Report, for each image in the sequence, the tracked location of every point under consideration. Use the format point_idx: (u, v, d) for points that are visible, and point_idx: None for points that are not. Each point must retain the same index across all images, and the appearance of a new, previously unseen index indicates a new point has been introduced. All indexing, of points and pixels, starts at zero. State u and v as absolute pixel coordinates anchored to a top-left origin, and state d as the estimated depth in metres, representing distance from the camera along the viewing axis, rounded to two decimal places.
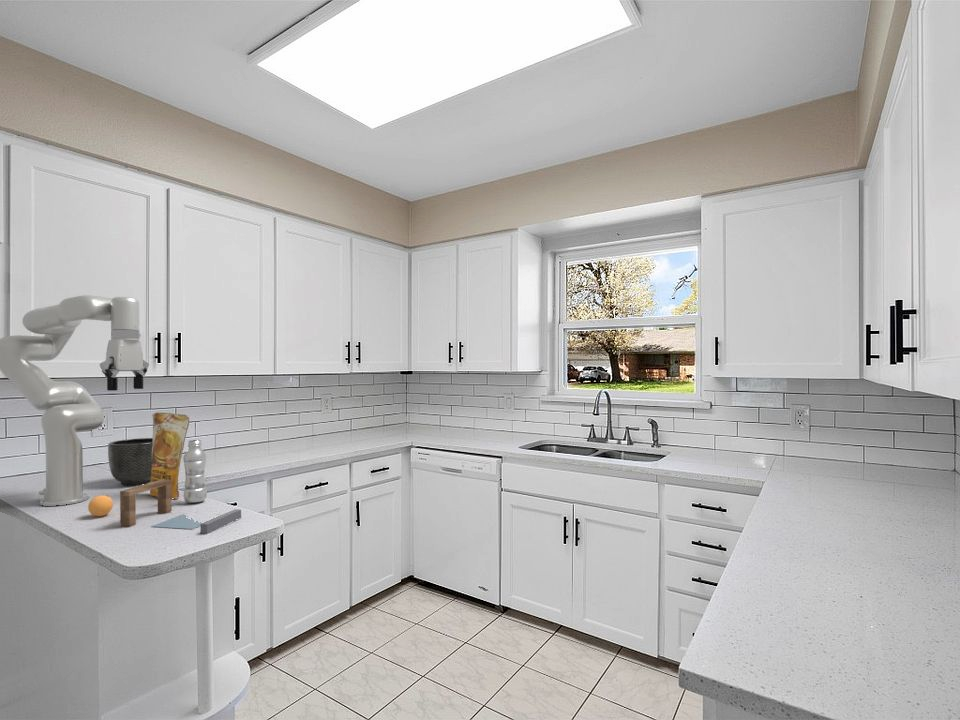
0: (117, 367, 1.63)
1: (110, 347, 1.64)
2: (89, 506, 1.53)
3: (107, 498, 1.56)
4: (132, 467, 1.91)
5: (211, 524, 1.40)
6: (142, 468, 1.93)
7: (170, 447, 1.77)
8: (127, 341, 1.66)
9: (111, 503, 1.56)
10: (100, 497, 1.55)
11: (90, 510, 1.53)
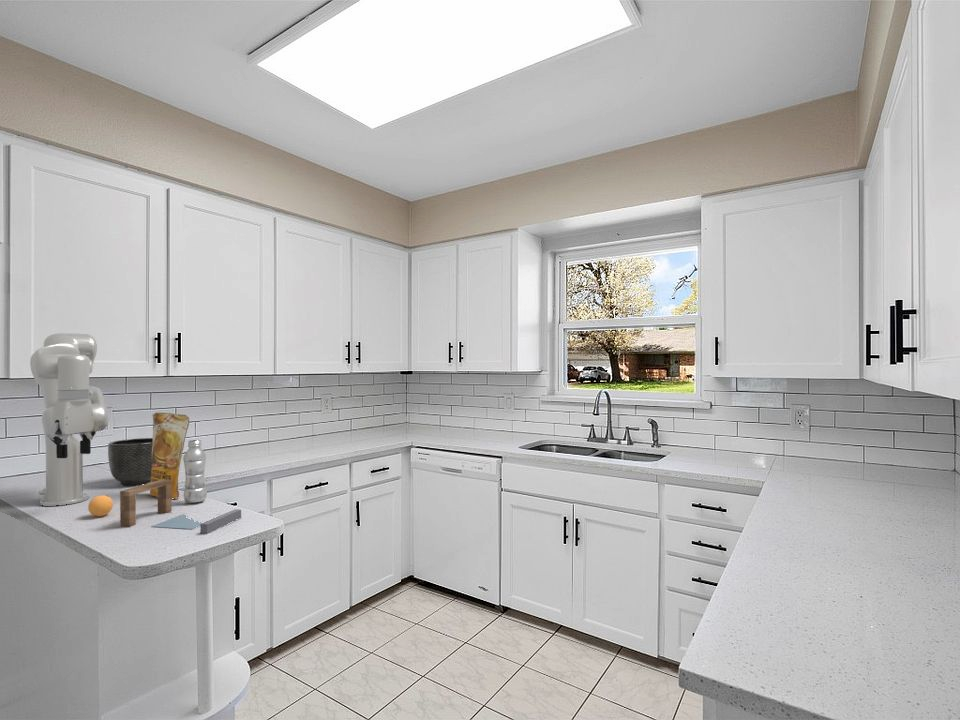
0: (63, 431, 1.53)
1: (56, 410, 1.53)
2: (89, 506, 1.53)
3: (107, 498, 1.56)
4: (132, 467, 1.91)
5: (211, 524, 1.40)
6: (142, 468, 1.93)
7: (170, 447, 1.77)
8: (75, 402, 1.56)
9: (111, 503, 1.56)
10: (100, 497, 1.55)
11: (90, 510, 1.53)
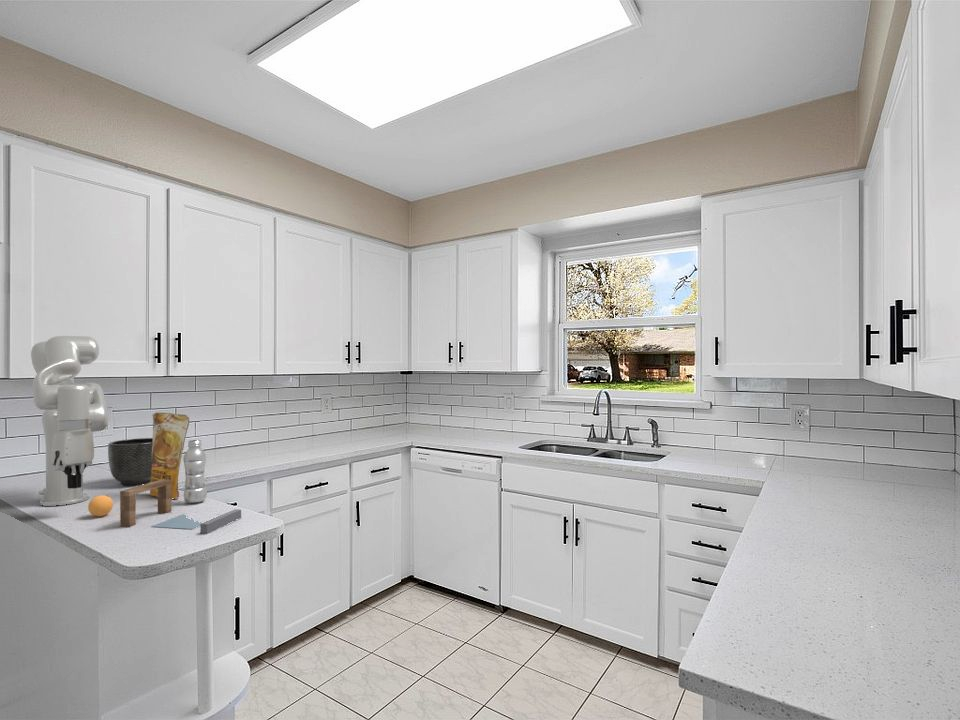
0: (63, 462, 1.52)
1: (56, 440, 1.53)
2: (89, 506, 1.53)
3: (107, 498, 1.56)
4: (132, 467, 1.91)
5: (211, 524, 1.40)
6: (142, 468, 1.93)
7: (170, 447, 1.77)
8: (75, 432, 1.55)
9: (111, 503, 1.56)
10: (100, 497, 1.55)
11: (90, 510, 1.53)
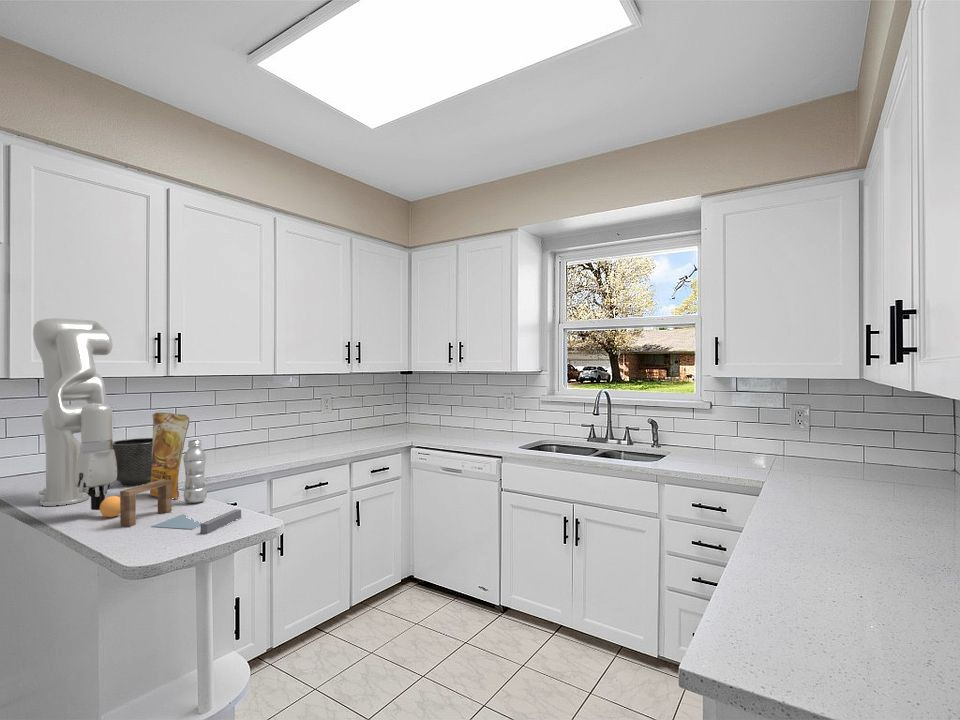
0: (87, 484, 1.51)
1: (79, 462, 1.51)
2: (103, 505, 1.52)
3: None
4: (132, 467, 1.91)
5: (211, 524, 1.40)
6: (142, 468, 1.93)
7: (170, 447, 1.77)
8: (98, 454, 1.54)
9: None
10: (117, 506, 1.54)
11: (101, 508, 1.52)
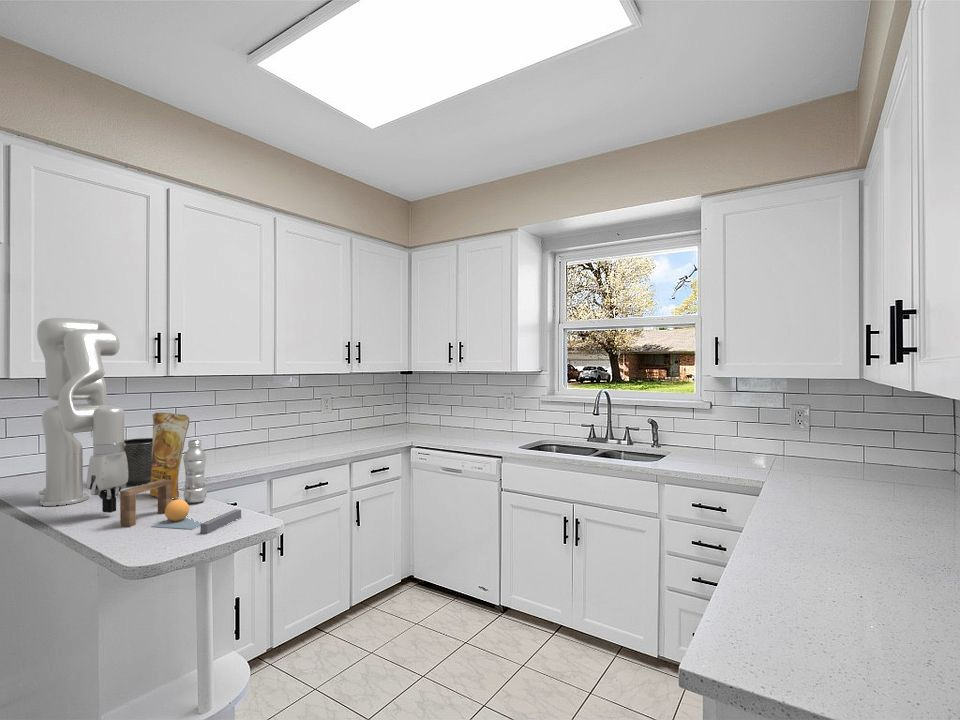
0: (99, 487, 1.50)
1: (92, 465, 1.51)
2: (172, 511, 1.47)
3: None
4: (132, 467, 1.91)
5: (211, 524, 1.40)
6: (142, 468, 1.93)
7: (170, 447, 1.77)
8: (110, 456, 1.53)
9: None
10: (179, 520, 1.49)
11: (168, 510, 1.47)
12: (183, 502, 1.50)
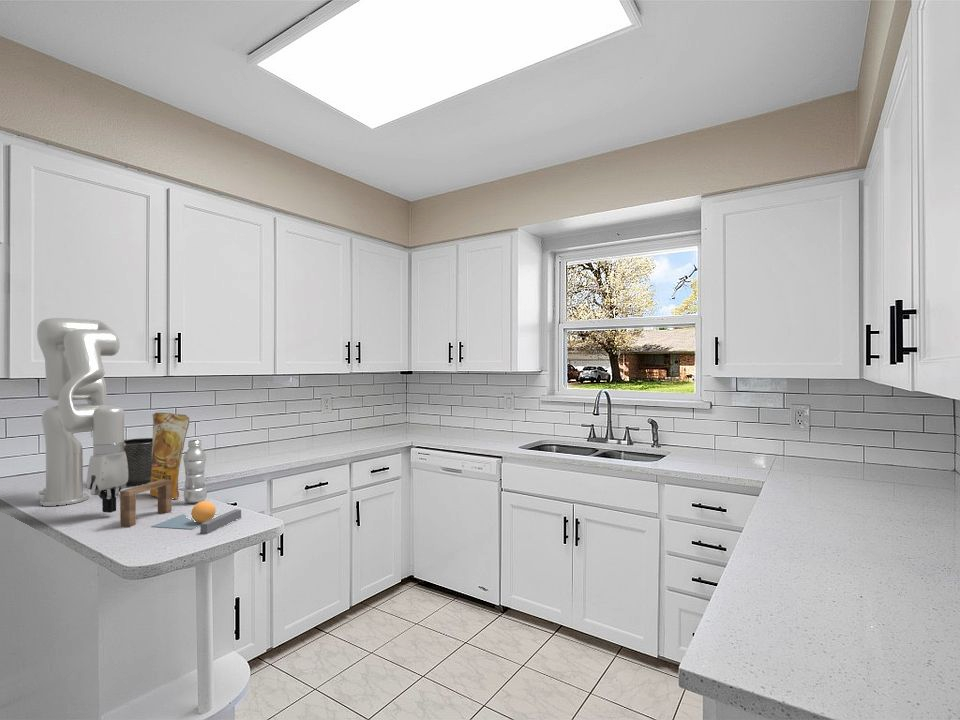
0: (99, 487, 1.50)
1: (92, 465, 1.51)
2: (193, 516, 1.46)
3: (201, 501, 1.49)
4: (132, 467, 1.91)
5: (211, 524, 1.40)
6: (142, 468, 1.93)
7: (170, 447, 1.77)
8: (110, 456, 1.53)
9: (208, 501, 1.49)
10: (195, 505, 1.48)
11: (197, 517, 1.46)
12: None
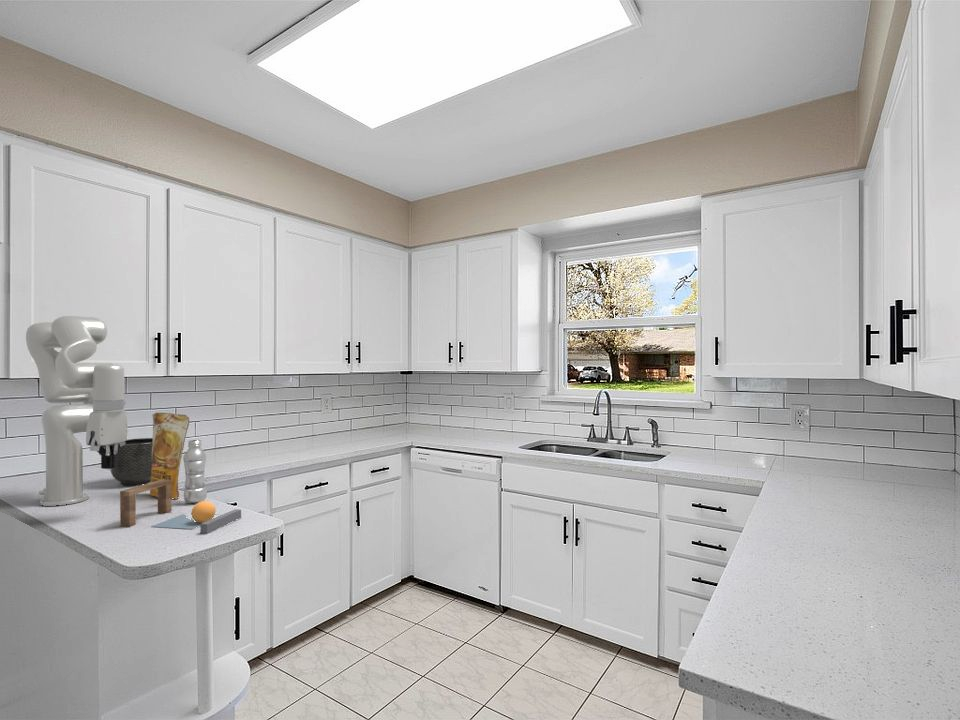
0: (98, 442, 1.51)
1: (91, 420, 1.51)
2: (193, 516, 1.46)
3: (201, 501, 1.49)
4: (132, 467, 1.91)
5: (211, 524, 1.40)
6: (142, 468, 1.93)
7: (170, 447, 1.77)
8: (110, 413, 1.53)
9: (208, 501, 1.49)
10: (195, 505, 1.48)
11: (197, 517, 1.46)
12: None
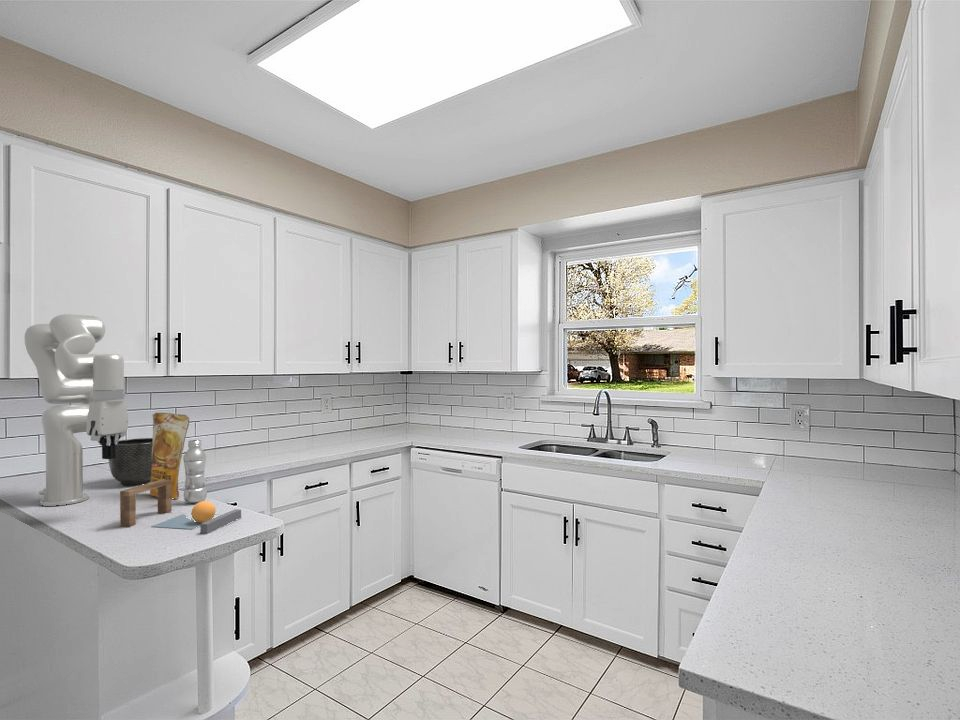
0: (99, 432, 1.50)
1: (91, 410, 1.51)
2: (193, 516, 1.46)
3: (201, 501, 1.49)
4: (132, 467, 1.91)
5: (211, 524, 1.40)
6: (142, 468, 1.93)
7: (170, 447, 1.77)
8: (110, 403, 1.53)
9: (208, 501, 1.49)
10: (195, 505, 1.48)
11: (197, 517, 1.46)
12: None
